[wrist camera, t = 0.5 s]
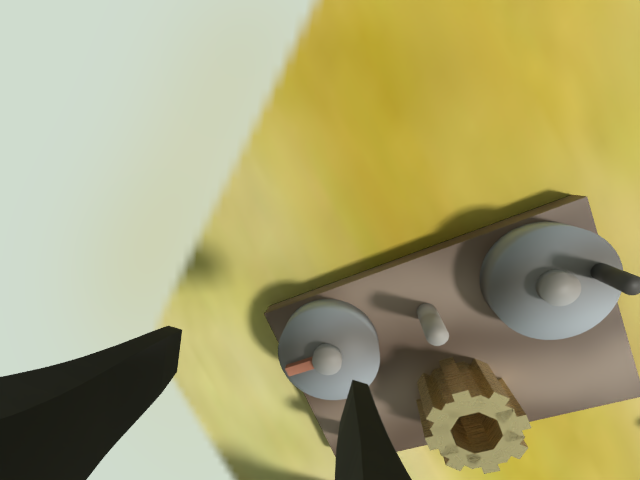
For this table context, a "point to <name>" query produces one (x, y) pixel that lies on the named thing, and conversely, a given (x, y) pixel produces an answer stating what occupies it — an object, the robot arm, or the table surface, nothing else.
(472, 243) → the gear board
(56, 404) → the robot arm
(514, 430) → the brass gear
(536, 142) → the table surface
